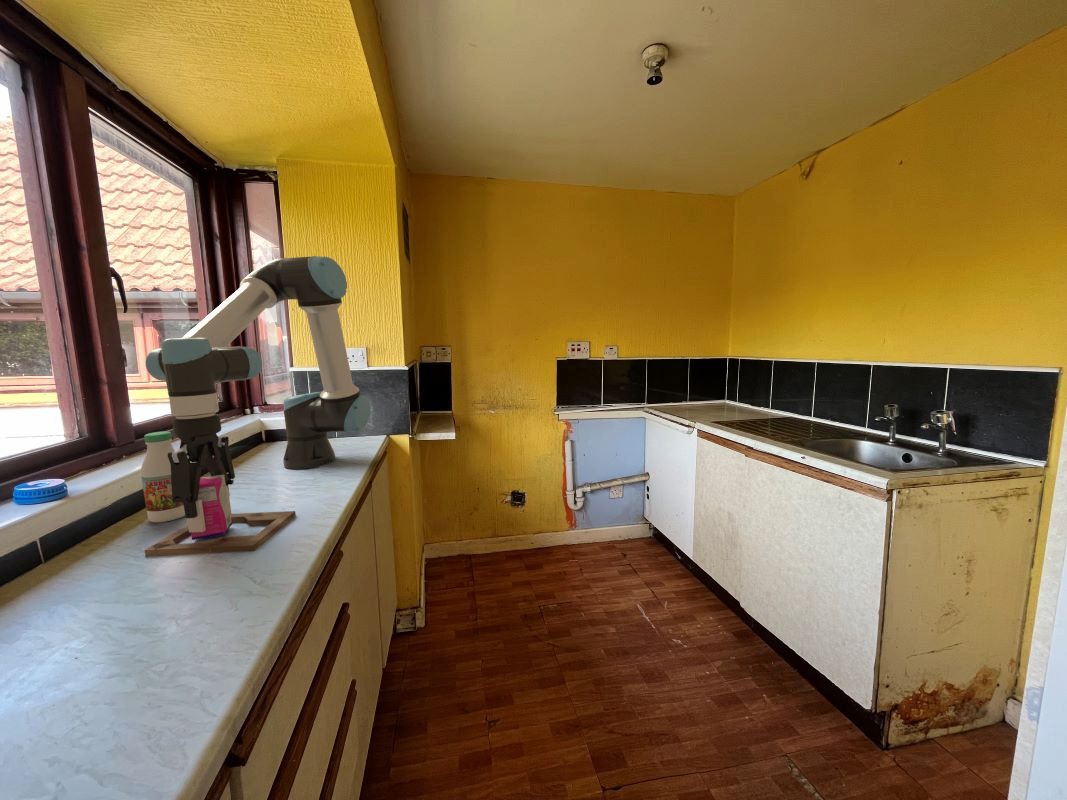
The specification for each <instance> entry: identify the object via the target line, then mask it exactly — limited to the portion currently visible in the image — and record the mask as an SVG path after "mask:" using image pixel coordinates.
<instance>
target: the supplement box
mask: <svg viewBox="0 0 1067 800" xmlns="http://www.w3.org/2000/svg"><path fill="white" fill-rule="evenodd" d="M190 496H191V494H190ZM200 499H202V506H203V513H204V520H205V527H206V530H205V531H204V532H191V535H190V537H191V540H192V541H195V540H200V539H207V538H212V537H219V536H225V535H226V534H227V532H228V531H229V530H230V528H231V527H232V525H233V522H232V521H231V515H230V509H229V502H228V496H227V490H226V483H225V477H224V475H216V476H211V475H209V476H205V477H204V476H203V477H202V476H201V477H200V485H199V492H198V499H197V500H200Z"/></svg>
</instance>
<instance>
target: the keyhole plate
mask: <svg viewBox="0 0 1067 800" xmlns="http://www.w3.org/2000/svg"><path fill="white" fill-rule="evenodd" d="M296 516H297V514H296V510H292V511H289V510H288V511H264V512H260V511H259V512H240V513H239V512H238V513H231V521H232V523H242V522H243V523H246V524H247V525H248V526H249V527H251V526H265V527H264V528H263V529H262V530H260V531H259V532H258V533H257V534H254V535H237V536H236V535H234V536H224V537H219V538H217V539H213V540H210V541H207V542H190V543H187V542H186V543H179V542H181V541H183V540H184V539H186V538H187V537H189V536H191V532H190V533H189V528H188V524H187V525H185V526H184V527H182V528H180V529H179V530H176V531H175V532H173V533H172V534H170V535H168V536H166V537H164V538H163V539H161V540H160V541H158V542H156V543H154V544H152V545H151V546H149V547H147V548H146V549H144V555H145V557H149V556H150V557H153V556H154V557H157V556H174V555H175V556H176V555H177V556H178V555H192V554H193V555H198V554H215V553H216V554H218V553H236V552H239V553H240V552H254V551H256V550H257V549H258V548H260V546H262V545H263V544H264V543H265V542H267V541H268V540H269V539H270V538H271V537H272V536H274V535H275V534H276V533H277V532H279V531H280V530H281V529H282V528H284V526H286V525H287V524H288V523H289V522H290V521H291V520H293V519H294V518H296Z"/></svg>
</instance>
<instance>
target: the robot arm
mask: <svg viewBox="0 0 1067 800" xmlns="http://www.w3.org/2000/svg"><path fill="white" fill-rule="evenodd" d="M347 289H348V282H347V277H346V275H345V273H344V271H343V269H342V267H341V266H340V264H338V263H337V261H336V260H334V259H333V258H331V257H328V256H319V255H317V256H316V255H313V256H300V257H299V256H297V257H281V258H276V259H273V260H270V261H268V262H266V263H264V264H262V265H261V266H259V267H257V268H255V269H254V270H253V271H252V272H250V273H249V274H248V275H247V276H245V277H244V278H243V279H242V280H241V281H240V283H239V288H238V289H237V290H236V291H235V292H234V293H232V294H231V295H230V296H228V298H226V299H225V300H224V301H223V302H221V304H219V306H217V307H216V308H215V309H214V310H212V312H210V313H209V314H208V315H207V316H205V318H203V319H202V320H201V321H200V322H199V323H198V324H196V325H195V326H194V327H193V328H191V329H190V330H189V331H188V332H187V333H186V334H185V335H183V337H181V338H180V337H179V338H176V337H175V338H174V337H173V338H167V339H164V340H162V342H161V348H155V349H153V350H151V352H149V353H148V354H147V356H146V358H145V367H146V371H147V372H148V373H149V375H150V376H151V377H152V378H154V379H155V380H157V381H161V382H163V381H164V382H165V383H166V388H167V394H168V400H169V405H170V406H169V407H170V413H171V416H172V417H175V418H173V419H172V421H171V423H172V429H173V430H172V431H173V435H174V437H176V438H177V439H179V440H180V443H179V444H180V445H179V449H177V450H175V451H176V452H169V453H168V459H169V461H170V464H171V483H172V501H173V502H174V503H183V504H184V511H185V516H184V517H185V519H186V523H187V525H188V528H189V533H190V532H204V531H205V530H206V527H205V520H204V513H203V506H202V499H200V500H197V499H198V492H199V485H200V478H202V476H201V475H202V468H203V467H204V466H206V469H207V470H208V473H209V475H210V476H216V475H224V477H225V483H226V490H227V496H228V502H229V509H230V515H231V514H232V507H231V501H230V496H231V495H230V487H229V485H233V484H234V483H235V482H234V481H235V478H236V474H235V470H234V466H233V461H232V456H231V452H230V447H229V444H230V443H229V442H230V441H229V436H218V435H217V434H218V433H220V432H221V431H222V423H221V416H220V414H218V412H219V411H220V407H219V399H218V393H217V392H218V391H217V386H216V384H218V383H226V382H228V383H229V382H235V381H246V380H250V379H254V378H256V377H258V376H259V374H260V373H261V371H262V369H263V361H262V357H261V356H260V353H259V352H258V351H257V350H255V349H254V348H252V347H250V346H249V347H248V346H241V345H238V346H229V345H230V344H231V343H232V342H233V341H234V340H235V339H236V338H238V336H239V335H240V334H241V333H242V332H244V330H246V329H247V327H248V326H249V325H251V324H252V322H254V321H255V320H256V319H257V317H258V316H260V314H262V313H263V312H264V310H266V309H271V308H274V307H275V306H276V305H277V304H278V303H280V302H283V301H288V300H297V304H298V305H297V306H298V308H300V309H301V310H302V311H304V312H305V314H306V317H307V323H308V327H309V331H310V335H311V340H312V344H313V349H314V353H315V357H316V362H317V365H318V370H319V375H320V379H321V383H322V388H323V390H321V391H315V392H308V393H304V394H303V393H302V394H297V395H293V396H292V395H291V396H287V397H286V398H285V399H284V400H283V410H282V411H283V415H284V416H283V417H284V424H285V430H286V431H285V433H286V440H287V443H286V444H287V445H286V447H285V452H284V456H283V461H282V462H283V467H284V468H285V469H290V470H304V469H311V468H317V467H322V466H326V465H329V464H331V463H333V462H335V461H336V454H335V451H334V449H333V446H332V444H331V442H330V441H329V439H328V433H346V434H350V433H358V432H361V431H363V430H364V428H366V426H367V425H368V422H369V421H370V416H371V411H372V410H371V402H370V400H369V399H368V397H367V396H364V395H361V391H360V388H359V387H358V386H356V385H355V384H354V383H353V378H352V374H351V368H350V364H349V362H350V361H349V357H348V353H347V348H346V344H345V342H346V341H345V339H344V338H345V337H344V333H343V328H342V323H341V319H340V313H339V307H341V305H342V304H343V301H342V298H344V297H345V296H346V294H347V291H348V290H347ZM190 494H191V496H190Z"/></svg>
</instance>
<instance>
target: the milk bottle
mask: <svg viewBox="0 0 1067 800" xmlns="http://www.w3.org/2000/svg"><path fill="white" fill-rule="evenodd" d="M172 438H173V437H172V432H171V431H155V432H149V433H146V434H144V436H143V439H144V442H145V445H146V453H145V456H144V459H143V461H142V464H141V468H140V470H141V471H140V475H141V485H142V491H143V496H144V497H143V498H144V502H145V509H146V514H147V519H148V521H149V522H150V523H165V522H169V521H170V522H171V521H174V520H178V519H181V518H183V517H185V511H184V504H183V503H174V502H173V501H172V483H171V464H170V461H169V459H168V453H169V452H176V451H177V450H175V448H174V447H173V444H172V442H173V439H172Z"/></svg>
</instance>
